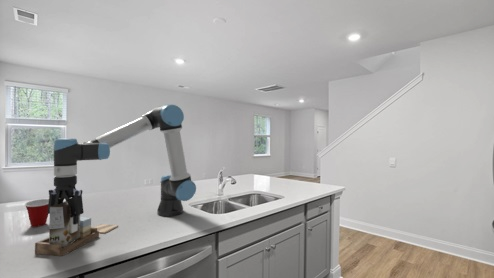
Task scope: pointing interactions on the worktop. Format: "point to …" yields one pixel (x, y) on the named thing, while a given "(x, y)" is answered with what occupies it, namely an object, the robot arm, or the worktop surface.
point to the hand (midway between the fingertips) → (65, 231)
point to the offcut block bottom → (83, 235)
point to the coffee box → (61, 225)
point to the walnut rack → (57, 249)
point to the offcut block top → (84, 222)
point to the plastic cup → (37, 212)
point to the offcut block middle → (85, 230)
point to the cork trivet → (105, 228)
